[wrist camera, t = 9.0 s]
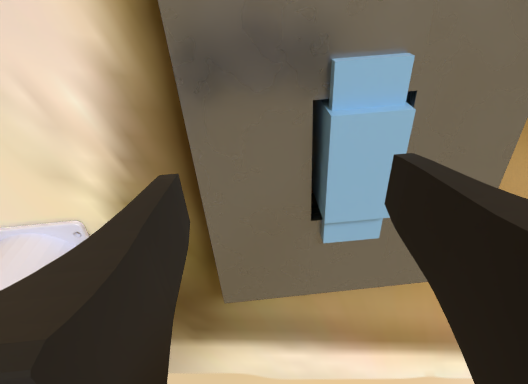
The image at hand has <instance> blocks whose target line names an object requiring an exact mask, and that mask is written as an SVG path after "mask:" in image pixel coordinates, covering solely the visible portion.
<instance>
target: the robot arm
mask: <svg viewBox="0 0 528 384" xmlns="http://www.w3.org/2000/svg"><path fill="white" fill-rule="evenodd" d="M384 204H385V207H386V209H387V211H388V214H389V216H390V219H391V221H392V223H393V225H394V228H395V229H396V231H397V233H398V234H399V236H400V238H401V239H402V241H403V242H404V244H405V246H406V247H407V249H408V250H409V252H410V254H411V255H412V257H413V258H414V260H415V262H416V263H417V265H418V266H419V268H420V270H421V271H422V273H423V274H424V276H425V277H426V279H427V281H428V282H429V284H430V286H431V288H432V290H433V291H434V293H435V295H436V297H437V299H438V301H439V303H440V306H441V308H442V310H443V312H444V314H445V316H446V318H447V320H448V322H449V325H450V327H451V329H452V331H453V333H454V336H455V338H456V340H457V342H458V345H459V347H460V349H461V352H462V354H463V356H464V359H465V361H466V364H467V366H468V369H469V371H470V374H471V376H472V379H473V381H474V383H475V384H528V199H526V198H523V197H520V196H517V195H514V194H511V193H508V192H506V191H503V190H501V189H498V188H496V187H493V186H490V185H488V184H485V183H483V182H481V181H478V180H476V179H473V178H471V177H469V176H466V175H464V174H462V173H460V172H457V171H455V170H453V169H450V168H448V167H446V166H444V165H441V164H439V163H437V162H435V161H432V160H430V159H427V158H425V157H422V156H420V155H417V154H414V153H406V154H394V156H393V161H392V167H391V172H390V177H389V182H388V188H387V193H386V198H385V203H384ZM189 230H190V220H189V216H188V212H187V208H186V203H185V199H184V195H183V191H182V187H181V183H180V179H179V175H178V174H169V175H160V176H158V177H157V178H156V179H155V180H154V181H153V182H151V183H150V184H149V185H148V186H147V187H146V188H145V189H144V190H143V191H142V192H141V193H140V194H139V195H138V196H137V197H136V198H135V199H133V200H132V201H131V202H130V203H129V204H128V205H127V206H126V207H125V208H124V209H123V210H121V211H120V212H119V213H118V214H117V215H116V216H114V217H113V218H112V219H111V220H110V221H108V222H107V223H106V224H105V225H104V226H103V227H101V228H100V229H99V230H98V231H96V232H95V233H94V234H92V235H91V236H90V237H89V235H88V233H87V231H86V229H85V227H84V225H83V224H82V223H81V222H79V221H65V222H55V223H45V224H35V225H25V226H15V227H5V228H0V384H167V377H168V366H169V355H170V345H171V336H172V326H173V318H174V312H175V306H176V302H177V297H178V292H179V288H180V283H181V279H182V274H183V270H184V265H185V260H186V256H187V251H188V243H189ZM77 232H79V233H81V234H79V233H77Z"/></svg>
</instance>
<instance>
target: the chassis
mask: <svg viewBox="0 0 528 384" xmlns="http://www.w3.org/2000/svg"><path fill="white" fill-rule="evenodd" d="M158 4H159V8H160V13H161V17H162V22H163V26H164V31H165V35H166V40H167V45H168V49H169V54H170V58H171V63H172V67H173V72H174V76H175V81H176V85H177V90H178V94H179V99H180V103H181V108H182V113H183V117H184V122H185V126H186V131H187V135H188V140H189V144H190V149H191V153H192V158H193V162H194V167H195V172H196V176H197V181H198V185H199V190H200V194H201V199H202V203H203V208H204V212H205V217H206V221H207V226H208V231H209V235H210V240H211V244H212V249H213V253H214V258H215V262H216V267H217V271H218V276H219V280H220V285H221V290H222V294H223V299H224V303H233V302H243V301H252V300H261V299H271V298H280V297H289V296H299V295H308V294H317V293H327V292H336V291H346V290H355V289H364V288H374V287H383V286H392V285H402V284H411V283H421V282H428V281H427V279H426V277H425V276H424V274H423V273H422V271H421V270H420V268H419V266H418V265H417V263H416V262H415V260H414V258H413V257H412V255H411V254H410V252H409V250H408V249H407V247H406V246H405V244H404V242H403V241H402V239H401V238H400V236H399V234H398V233H397V231H396V229H395V228H394V225H393V223H392V221H391V219H390V218H383V220H382V226H381V231H380V236H379V238H376V239H365V240H355V241H344V242H333V243H323V241H322V238H321V232H322V215H321V213H320V210H319V207H318V204H317V201H316V199H315V196H314V193H311V183H312V127H313V100H321V99H329V97H330V80H331V63H332V59H335V58H348V57H361V56H374V55H387V54H400V53H410V54H413V55H415V57H414V63H413V68H412V73H411V78H410V83H409V88H408V93H407V98H406V102H407V103H408V104H409V105H411V106H412V107H413V108H415V109H416V111H415V116H414V121H413V125H412V130H411V134H410V139H409V144H408V148H407V153H414V154H417V155H420V156H422V157H425V158H427V159H430V160H432V161H435V162H437V163H439V164H441V165H444V166H446V167H448V168H450V169H453V170H455V171H457V172H460V173H462V174H464V175H466V176H469V177H471V178H473V179H476V180H478V181H481V182H483V183H485V184H488V185H490V186H493V187H496V188H499V185H500V183H501V180H502V178H503V175H504V173H505V171H506V168H507V166H508V163H509V161H510V159H511V156H512V154H513V151H514V149H515V147H516V144H517V142H518V139H519V137H520V134H521V132H522V130H523V127H524V125H525V122H526V120H527V118H528V0H158Z"/></svg>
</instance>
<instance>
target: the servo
mask: <svg viewBox="0 0 528 384" xmlns="http://www.w3.org/2000/svg"><path fill="white" fill-rule="evenodd" d="M414 57H415V55H413V54H410V53H400V54H387V55H374V56H361V57H348V58H335V59H332V63H331V80H330V97H329V99H321V100H313V127H312V183H311V187H312V190H313V193H314V196H315V199H316V201H317V204H318V207H319V210H320V213H321V215H322V232H321V238H322V241H323V243H333V242H344V241H355V240H365V239H376V238H379V236H380V231H381V226H382V220H383V218H390V216H389V214H388V211H387V209H386V207H385V204H384V203H385V198H386V193H387V188H388V182H389V177H390V172H391V167H392V161H393V156H394V154H406V153H407V148H408V144H409V139H410V134H411V130H412V125H413V121H414V116H415V111H416V109H415V108H413V107H412V106H411V105H409V104H408V103H407V102H406V98H407V93H408V88H409V83H410V78H411V73H412V68H413V63H414Z"/></svg>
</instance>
